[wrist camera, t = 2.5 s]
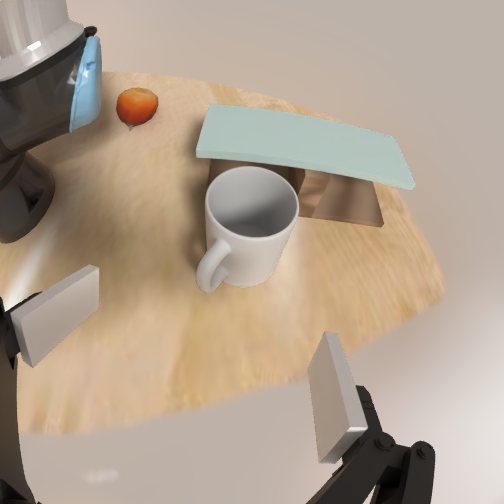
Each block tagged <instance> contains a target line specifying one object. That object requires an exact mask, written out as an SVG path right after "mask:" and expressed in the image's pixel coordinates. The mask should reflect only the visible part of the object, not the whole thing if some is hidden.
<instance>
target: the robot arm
mask: <svg viewBox="0 0 504 504" xmlns="http://www.w3.org/2000/svg"><path fill="white" fill-rule="evenodd" d="M0 56H1V60H0V242H1V243H11V242H14V241H16V240H18V239H20V238H22V237H23V236H25V235H26V234H27V233H28V232H29V231H31V230H32V229H33V228H34V227H35V225H36V224H37V223H38V222H39V221H40V219H41V218H42V217H43V215H44V214H45V212H46V210H47V209H48V207H49V205H50V202H51V200H52V197H53V194H54V179H53V177H52V175H51V174H50V172H49V170H48V169H47V167H46V166H45V165H43V164H42V163H41V162H40V161H38V160H37V159H36V158H35V157H33V156H32V155H31V154H30V153H28V152H27V150H29V149H31V148H33V147H35V146H38V145H40V144H42V143H44V142H46V141H49V140H51V139H53V138H56V137H58V136H60V135H63V134H65V133H68V132H69V133H72V132H73V131H74V130H76V129H78V128H80V127H83V126H85V125H88V124H90V123H92V122H94V121H95V120H96V119H97V117H98V116H99V114H100V111H101V104H102V60H101V45H100V39H99V37H97V36H95V37H93V36H90V37H88V38H86V37H85V31H84V27H83V25H81V24H79V23H76V22H74V21H71V20H70V19H69V18H68V12H67V5H66V0H0ZM98 308H99V267H96V266H93V265H91V264H89V265H87V266H85V267H83V268H82V269H80V270H78V271H77V272H75V273H73V274H71V275H70V276H68V277H66V278H65V279H63V280H61V281H60V282H58V283H56V284H55V285H53V286H51V287H50V288H48V289H47V290H45V291H43V292H42V291H41V292H38V293H35V294H32V295H31V296H29V297H28V298H27V299H24V300H23V301H22V302H20V303H18V304H17V305H15V306H14V307H12V308H11V309H9V310H8V311H6V312H5V310H4V305H3V300H2V298H1V297H0V504H36V502H35V499H34V496H33V494H32V492H31V490H30V488H29V486H28V484H27V482H26V480H25V475H24V470H23V464H22V458H21V452H20V444H19V434H18V422H17V364H18V359H17V354H18V353H19V352H21V355H22V359H23V361H24V362H26V363H27V364H28V365H30V366H31V367H33V368H34V367H35V366H36V365H37V364H38V363H39V362H40V361H41V360H42V359H43V358H44V357H45V356H46V355H47V354H48V353H49V352H50V351H51V350H53V349H54V348H55V347H56V346H57V345H58V344H59V343H60V342H61V341H62V340H63V339H64V338H66V337H67V336H68V335H69V334H70V333H71V332H72V331H73V330H74V329H76V328H77V327H78V326H79V325H80V324H81V323H82V322H83V321H85V320H86V319H87V318H88V317H89V316H90V315H92V314H93V313H94V312H95V311H96V310H97V309H98ZM308 375H309V382H310V390H311V398H312V406H313V414H314V423H315V432H316V441H317V450H318V461H319V463H332V464H333V463H334V464H335V463H336V462H337V461H338V460H339V459H340V458H341V457H342V461H343V464H342V465H341V466H340V467H339V468H338V469H337V470H336V471H335V472H334V473H333V474H332V475H333V476H332V477H331V478H330V479H329V480H328V481H327V482H326V484H324V486H323V487H322V488H321V489H320V490H319V491H318V492H317V493H316V494H315V495H314V496H313V497H312V498H311V499H310V500H309V501H308V502H307V503H306V504H363V502H364V501H365V500H366V498H367V497H368V495H369V494H370V492H371V491H372V489H373V488H374V486H375V485H376V486H375V489H374V493H373V496H372V498H371V502H370V504H430V503H431V496H432V489H433V479H434V469H435V451H434V449H433V447H432V446H431V445H430V444H428V443H427V442H424V441H418V442H416V443H415V444H413V445H412V446H411V447H406V446H401V445H397V444H396V443H395V440H394V439H393V437H391V436H390V435H389V434H387V433H384V432H383V431H382V428H381V425H380V422H379V419H378V416H377V413H376V410H375V408H374V404H373V403H372V399H371V396H370V394H369V392H368V391H367V390H366V389H365V387H364V386H357V385H355V383H354V380H353V377H352V374H351V371H350V368H349V365H348V362H347V359H346V356H345V353H344V350H343V347H342V345H341V342H340V339H339V336H338V333H333V332H328V331H325V332H324V334H323V336H322V339H321V341H320V343H319V345H318V348H317V350H316V352H315V354H314V356H313V358H312V360H311V363H310V365H309V367H308ZM37 504H41V503H40V502H38V503H37Z"/></svg>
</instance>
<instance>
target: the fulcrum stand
mask: <svg viewBox="0 0 504 504" xmlns="http://www.w3.org/2000/svg"><path fill="white" fill-rule="evenodd" d="M243 166H254V167H260V168H264V169H268V170H270V171H273V172H275V173H277V174H278V175H280V176H281V177H283V178H284V179H285V180H286V181H287V182H288V183H289V184H290V185H291V186H292V187H293V189H294V191H295V192H296V195H297V197H298V201H299V214H298V216H300V217H309V218H317V219H325V220H333V221H340V222H348V223H355V224H362V225H369V226H375V227H382V226H383V224H384V222H383V218H382V214H381V210H380V206H379V203H378V199H377V196H376V192H375V189H374V186H373V182H372V181H369V180H364V179H359V178H354V177H349V176H344V175H339V174H333V173H328V172H322V171H316V170H310V169H303V168H297V167H290V166H282V165H275V164H266V163H258V162H249V161H238V160H227V159H215V158H213V161H212V166H211V171H210V177H209V182H208V187H209V185H210V184H211V183H212V181H213V180H214V179H215V178H216V177H217V176H219V175H220V174H222V173H223V172H225V171H227V170H230V169H233V168H237V167H243ZM207 190H208V188H207Z"/></svg>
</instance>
